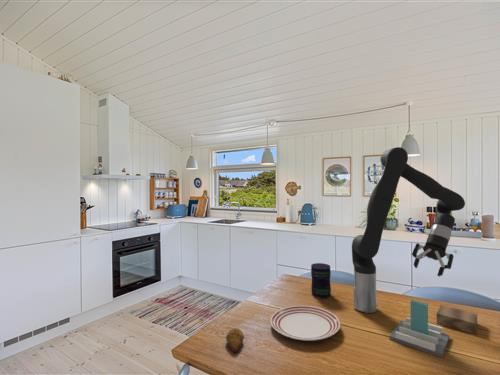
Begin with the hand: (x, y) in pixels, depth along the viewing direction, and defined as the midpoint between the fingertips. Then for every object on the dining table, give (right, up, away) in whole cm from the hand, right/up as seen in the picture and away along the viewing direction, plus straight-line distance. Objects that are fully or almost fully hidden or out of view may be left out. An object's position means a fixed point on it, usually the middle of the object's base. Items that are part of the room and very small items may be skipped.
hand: (426, 271), depth 115 cm
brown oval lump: (-81, -21, -16) cm, 85 cm away
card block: (-13, -18, -16) cm, 28 cm away
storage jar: (-38, -20, +25) cm, 50 cm away
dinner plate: (-53, -21, -6) cm, 58 cm away
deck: (+8, -19, -6) cm, 22 cm away
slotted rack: (-13, -20, -16) cm, 28 cm away
